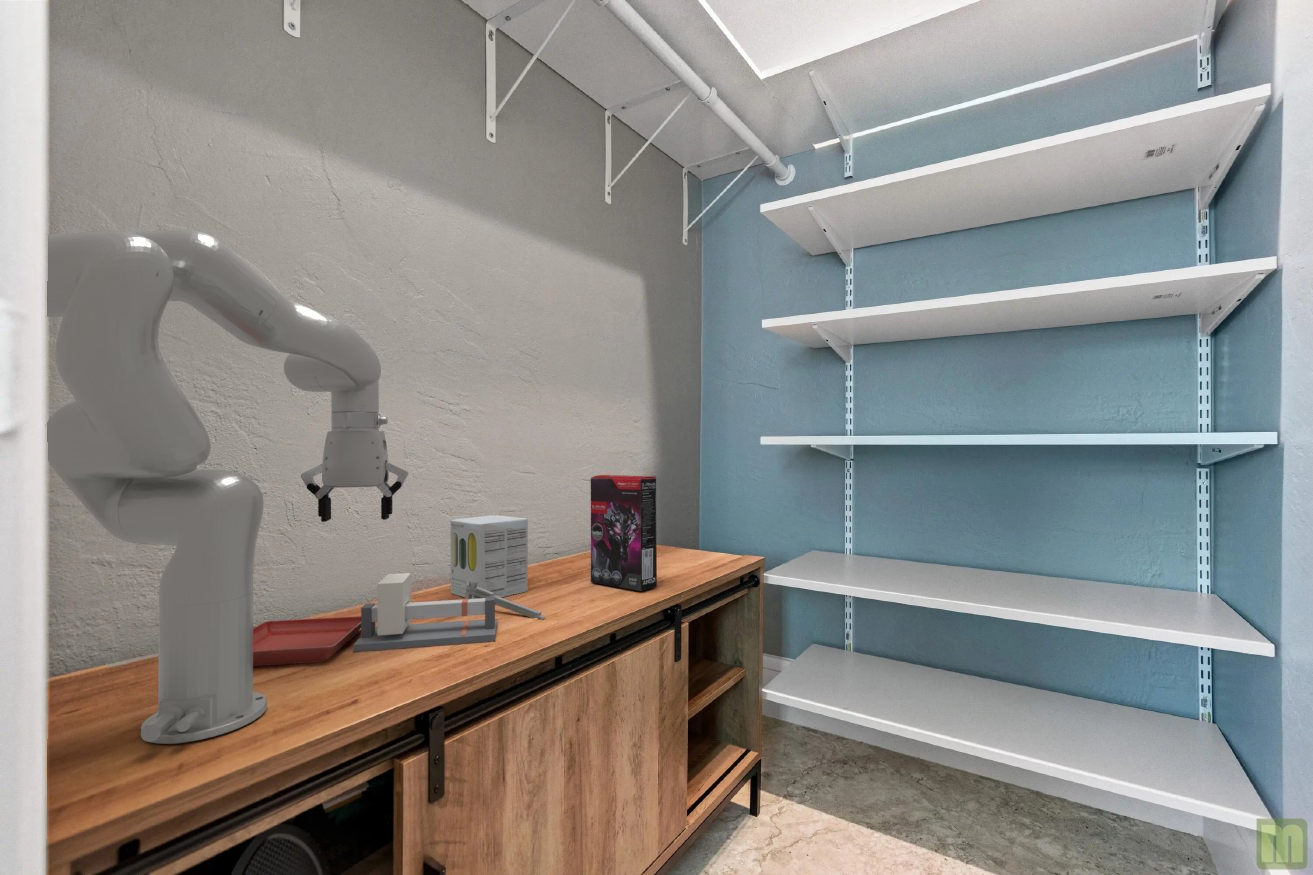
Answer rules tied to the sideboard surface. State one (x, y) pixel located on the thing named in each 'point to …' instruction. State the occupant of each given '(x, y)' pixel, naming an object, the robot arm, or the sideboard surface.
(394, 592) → the white sliding block
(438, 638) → the gray slide rail base
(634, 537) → the graphics card box
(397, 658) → the sideboard surface
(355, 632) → the plant saucer
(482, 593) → the caliper
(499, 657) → the sideboard surface
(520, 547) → the supplement box
